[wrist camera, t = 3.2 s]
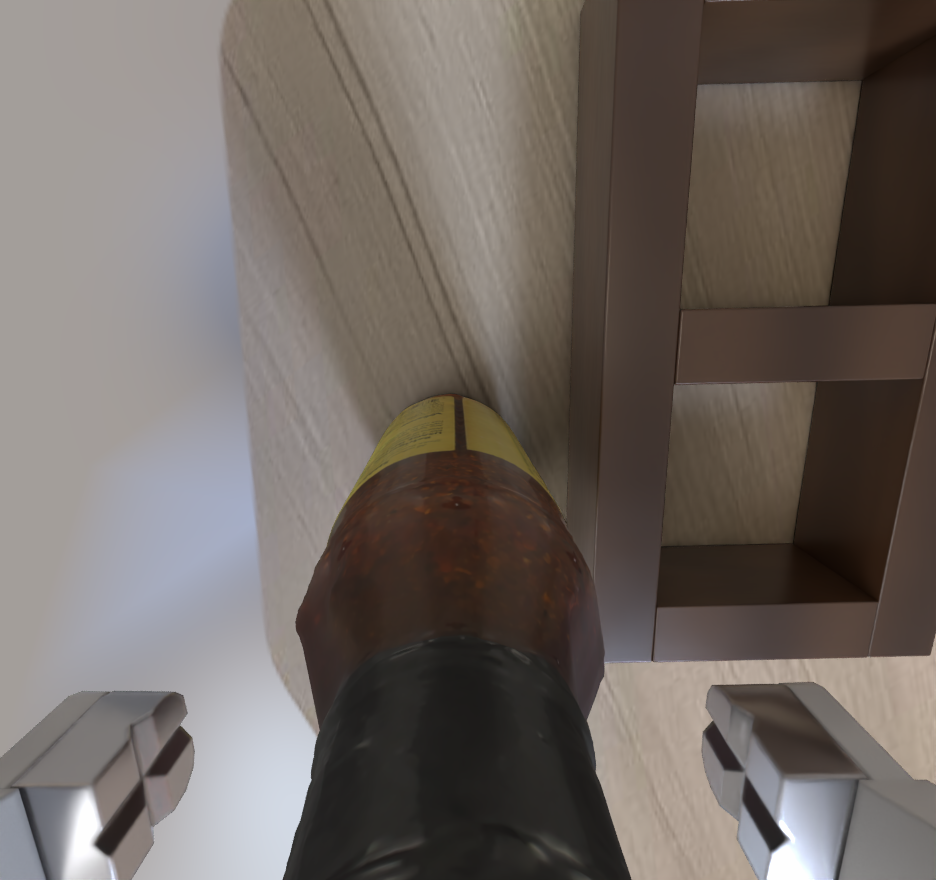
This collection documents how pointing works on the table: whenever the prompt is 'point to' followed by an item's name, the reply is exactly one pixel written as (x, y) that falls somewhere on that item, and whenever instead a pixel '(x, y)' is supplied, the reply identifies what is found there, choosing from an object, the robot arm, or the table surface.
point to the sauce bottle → (453, 669)
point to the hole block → (756, 338)
